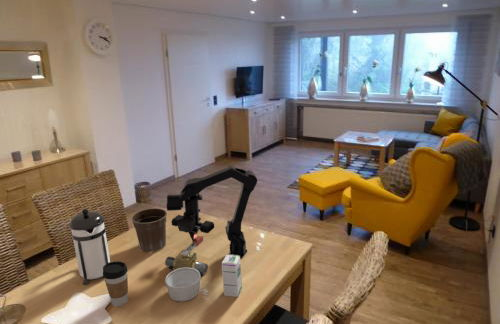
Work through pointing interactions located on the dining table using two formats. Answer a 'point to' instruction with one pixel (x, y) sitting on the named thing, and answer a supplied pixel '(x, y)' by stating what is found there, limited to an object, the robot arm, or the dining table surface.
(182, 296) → the ramekin
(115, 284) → the coffee cup
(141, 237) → the plant pot
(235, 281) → the syrup box
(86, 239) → the coffee press
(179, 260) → the valve body
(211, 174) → the robot arm
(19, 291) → the dining table surface
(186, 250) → the valve lever
